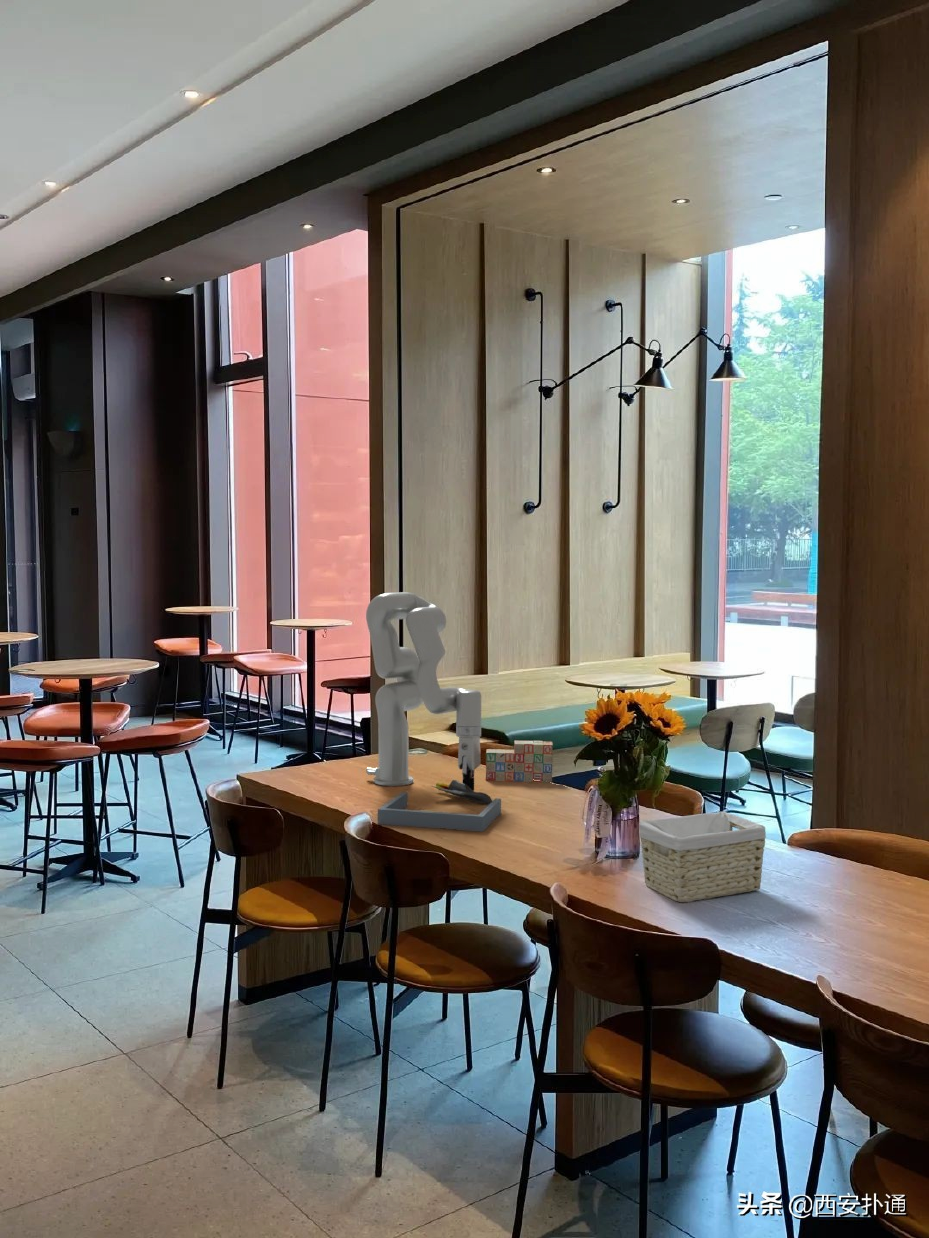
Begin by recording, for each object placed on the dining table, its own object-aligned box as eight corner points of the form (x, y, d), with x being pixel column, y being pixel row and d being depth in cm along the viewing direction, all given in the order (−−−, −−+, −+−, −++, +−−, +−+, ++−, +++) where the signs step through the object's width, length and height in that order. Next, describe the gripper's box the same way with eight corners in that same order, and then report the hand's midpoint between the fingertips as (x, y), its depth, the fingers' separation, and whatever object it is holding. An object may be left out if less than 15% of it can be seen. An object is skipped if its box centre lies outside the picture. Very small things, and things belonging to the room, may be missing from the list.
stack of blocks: (485, 781, 351) (485, 743, 350) (486, 777, 357) (486, 739, 356) (552, 782, 350) (552, 744, 349) (552, 778, 356) (552, 740, 355)
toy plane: (414, 789, 329) (418, 771, 330) (455, 794, 341) (458, 777, 341) (470, 807, 311) (474, 789, 311) (511, 812, 322) (515, 794, 322)
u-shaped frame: (377, 823, 296) (377, 809, 296) (402, 805, 317) (402, 791, 317) (482, 831, 289) (482, 816, 288) (501, 812, 309) (501, 798, 309)
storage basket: (675, 906, 230) (676, 837, 229) (634, 884, 245) (635, 819, 244) (768, 893, 239) (770, 826, 238) (723, 872, 254) (724, 809, 253)
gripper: (475, 735, 322) (474, 797, 324) (486, 727, 337) (486, 786, 338) (450, 734, 324) (450, 795, 325) (462, 726, 339) (462, 785, 340)
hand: (468, 790), depth 332 cm, fingers closed
